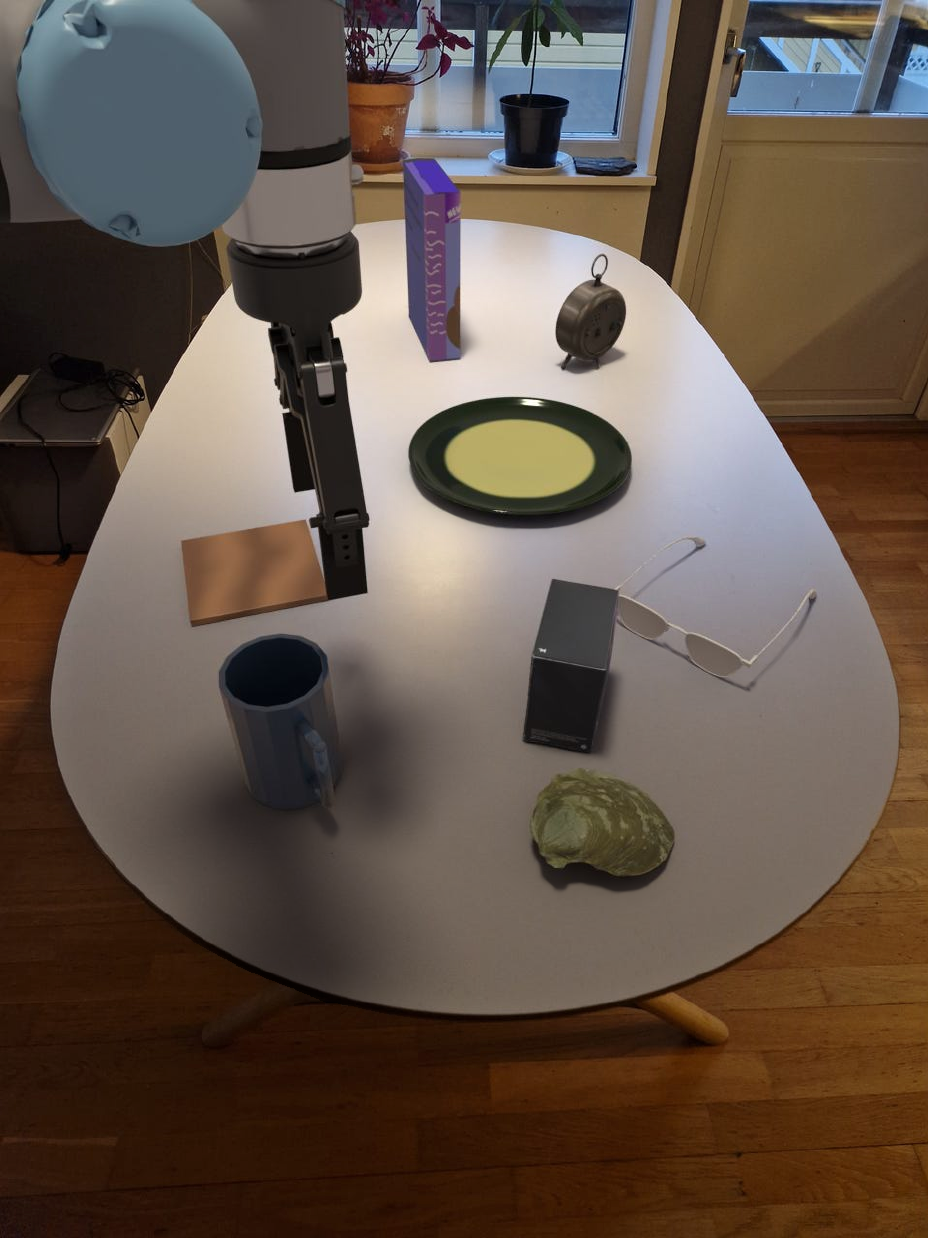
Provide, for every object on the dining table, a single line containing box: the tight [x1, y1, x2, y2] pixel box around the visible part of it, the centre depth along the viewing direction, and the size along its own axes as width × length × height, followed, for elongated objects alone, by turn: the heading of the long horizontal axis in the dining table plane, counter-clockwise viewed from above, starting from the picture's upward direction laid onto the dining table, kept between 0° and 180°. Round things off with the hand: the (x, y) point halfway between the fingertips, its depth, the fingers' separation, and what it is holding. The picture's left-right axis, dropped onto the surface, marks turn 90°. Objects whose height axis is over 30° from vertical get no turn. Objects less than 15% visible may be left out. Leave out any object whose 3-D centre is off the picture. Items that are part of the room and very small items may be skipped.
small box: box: [521, 578, 620, 753], centre depth 75 cm, size 11×6×10 cm, turn 167°
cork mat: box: [180, 518, 328, 627], centre depth 93 cm, size 14×14×1 cm
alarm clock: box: [555, 253, 627, 370], centre depth 126 cm, size 11×5×16 cm, turn 129°
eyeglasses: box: [614, 535, 818, 679], centre depth 88 cm, size 15×18×4 cm
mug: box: [218, 633, 343, 811], centre depth 68 cm, size 11×8×12 cm
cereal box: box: [402, 157, 462, 363], centre depth 130 cm, size 17×5×24 cm, turn 13°
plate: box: [407, 396, 633, 516], centre depth 109 cm, size 28×28×2 cm
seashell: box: [529, 767, 676, 877], centre depth 67 cm, size 10×7×10 cm
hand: (327, 536), depth 63 cm, fingers open, 13 cm apart
